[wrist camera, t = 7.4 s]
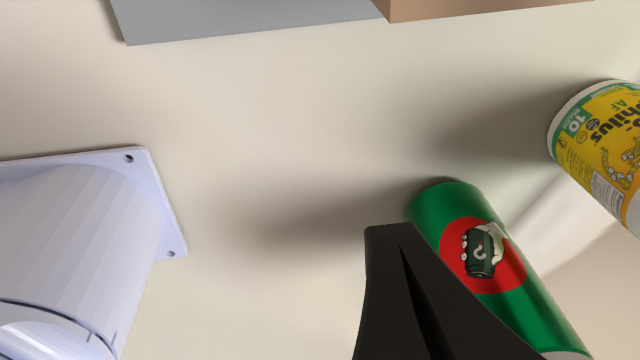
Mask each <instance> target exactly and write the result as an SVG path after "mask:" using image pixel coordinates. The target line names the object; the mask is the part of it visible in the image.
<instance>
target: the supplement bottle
mask: <svg viewBox="0 0 640 360" xmlns="http://www.w3.org/2000/svg"><path fill="white" fill-rule="evenodd" d="M547 146H548V150H549V153H550V155H551V156H552V158H553V159H554V160H555V161H556V162H557V163H558V164H559V165H560V166H561V167H562V168H563V169H564V170H565V171H566V172H567V173H568V174H569V175H570V176H571V177H572V178H573V179H574V180H575V181H577V182H578V183H579V184H580V185H581V186H582V187H583V188H584V189H585V190H586V191H587V192H588V193H589V194H590V195H592V196H593V197H594V198H595V199H596V200H597V201H598V202H599V203H600V204H601V205H602V206H603V207H604V208H605V209H606V210H607V211H608V212H609V213H610V214H612V215H613V216H614V217H615V218H616V219H617V220H618V221H619V222H620V223H621V224H622V225H623V226H624V227H626V229H628V230H629V231H630V232H631V233H632V234H633V235H634V236H635V237H637V238H638V239H639V240H640V85H638V84H635V83H633V82H630V81H625V80H609V81H604V82H601V83H598V84H595V85H592V86H590V87H588V88H586V89H584V90H583V91H581V92H580V93H578V94H577V95H575V96H574V97H572V98H571V99H570V100H569V101H568V102H567V103H566V104H565V105H564V107H563V108H562V109H561V110H560V111H559V112H558V113H557V115H556V116H555V118H554V119H553V121H552V123H551V125H550V128H549V131H548V134H547Z"/></svg>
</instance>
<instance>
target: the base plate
mask: <svg viewBox="0 0 640 360" xmlns="http://www.w3.org/2000/svg"><path fill="white" fill-rule="evenodd" d="M110 2H111V5H112V8H113V10H114V13H115V16H116V18H117V21H118V24H119V27H120V29H121V32H122V35H123V37H124V40H125V43H126V45H127V46H136V45H145V44H154V43H163V42H171V41H180V40H189V39H198V38H207V37H216V36H225V35H234V34H243V33H251V32H260V31H269V30H278V29H287V28H296V27H305V26H314V25H323V24H331V23H340V22H349V21H358V20H367V19H376V18H385V17H384V16H383V15H382V14H381V12H380V11H379V10H378V9H377V8H376V6H375V5H374V4H373V3H372V2H371V1H370V0H110Z"/></svg>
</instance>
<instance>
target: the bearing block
mask: <svg viewBox="0 0 640 360" xmlns="http://www.w3.org/2000/svg"><path fill="white" fill-rule="evenodd" d="M370 1H371V2H372V3H373V4H374V5H375V6H376V8H377V9H378V10H379V11H380V12H381V14H382V15H383V16H384V17H385V18H386V19H387V21H388V22H389V23H390V24H392V23H401V22H410V21H418V20H427V19H436V18H445V17H454V16H463V15H472V14H481V13H489V12H498V11H507V10H516V9H525V8H534V7H543V6H551V5H560V4H569V3H578V2H587V1H595V0H370Z"/></svg>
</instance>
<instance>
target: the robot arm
mask: <svg viewBox="0 0 640 360" xmlns="http://www.w3.org/2000/svg"><path fill="white" fill-rule="evenodd" d="M126 155H130V156H132V157H133V158H134V159H129V158H127V157H126ZM364 239H365V267H366V289H365V296H364V303H363V309H362V315H361V321H360V326H359V331H358V336H357V341H356V345H355V349H354V354H353V358H352V360H547V359H546V358H545V357H543V356H542V355H541V354H540V353H539V352H537V351H536V350H535V349H534V348H532V347H531V346H530V345H529V344H528V343H526V342H525V341H524V340H523V339H522V338H520V337H519V336H518V335H517V334H516V333H515V332H514V331H512V330H511V329H510V328H509V327H508V326H507V325H506V324H504V323H503V322H502V321H501V320H500V319H499V318H498V317H497V316H496V315H495V314H494V313H493V312H492V311H491V310H489V309H488V308H487V307H486V306H485V305H484V304H483V303H482V302H481V301H480V300H479V299H478V298H477V297H476V296H475V295H474V294H473V293H472V292H471V291H470V290H469V288H468V287H467V286H466V285H465V284H464V283H463V282H462V281H461V280H460V279H459V278H458V277H457V275H456V274H455V273H454V272H453V271H452V270H451V269H450V268H449V267H448V266H447V264H446V263H445V262H444V261H443V260H442V259H441V257H440V256H439V255H438V254H437V252H436V251H435V250H434V249H433V248H432V246H431V245H430V244H429V243H428V241H427V240H426V239H425V237H424V236H423V235H422V234H421V232H420V231H419V229H418V228H417V227H416V225H415V224H414V223H412V222H404V223H395V224H387V225H378V226H370V227H367V228H366V229H365V230H364ZM170 251H173V252H170ZM187 253H188V247H187V244H186V242H185V239H184V237H183V234H182V232H181V229H180V227H179V224H178V222H177V219H176V217H175V214H174V212H173V209H172V207H171V205H170V202H169V200H168V197H167V195H166V192H165V190H164V187H163V185H162V182H161V180H160V177H159V175H158V172H157V170H156V167H155V165H154V163H153V160H152V158H151V155H150V153H149V151H148V150H147V149H146V148H144V147H141V146H132V147H123V148H114V149H106V150H97V151H89V152H80V153H71V154H63V155H54V156H46V157H37V158H28V159H20V160H11V161H3V162H0V360H120V359H121V356H122V354H123V351H124V348H125V345H126V342H127V339H128V336H129V333H130V330H131V327H132V325H133V322H134V319H135V316H136V313H137V310H138V307H139V304H140V301H141V298H142V295H143V293H144V290H145V287H146V284H147V281H148V278H149V275H150V272H151V269H152V266H153V263H154V261H160V260H168V259H177V258H183V257H185V256H186V255H187Z"/></svg>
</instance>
